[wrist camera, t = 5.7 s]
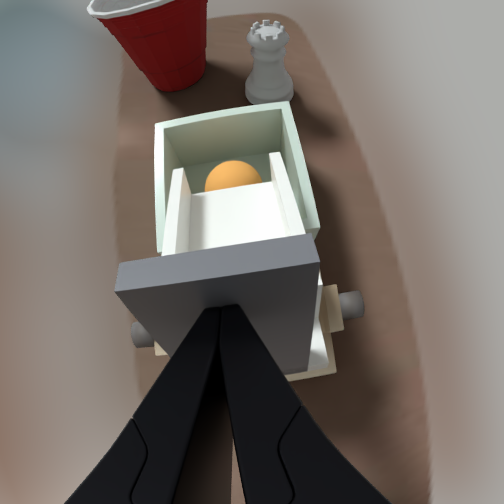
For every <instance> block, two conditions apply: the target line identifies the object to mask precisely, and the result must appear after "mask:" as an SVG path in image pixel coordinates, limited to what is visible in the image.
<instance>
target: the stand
mask: <svg viewBox="0 0 504 504" xmlns="http://www.w3.org/2000/svg"><path fill="white" fill-rule="evenodd" d="M319 273H320V277H321V272H320V269H319ZM321 281H322V278H321ZM322 284H323V283H322ZM363 315H364V302H363V298H362V295H361V293H360V291H359V290H356V291H351V292H346V293H340V294H338V290H337V285H336V284H334V285H328V286H322V294H321V302H320V309H319V317H318V318H319V322H320V326H321V331H322V335H323V339H324V344H325V348H326V352H327V357H328V361H329V364H328V367H327V368H323V369H318V370H312V371H307V372H301V373H295V374H289V375H285V377H286V379H287V380H288V381H294V380H300V379H306V378H311V377H317V376H322V375H327V374H332V373H337V372H336V364H335V357H334V350H333V344H332V337H331V332H336V331H341V330H344V325H343V321H344V320H349V319H353V318H358V317H363ZM131 337H132V341H133V343H134V345H135V346H136V347H137V348H142V347H155V353H156V355H168V354H167V353H166V352H165V351H164V350H163V349H162V348H161V347H160V346H159V344H158V343H157V342H156V341H155V340H154V339H153V338H152V336H151V335H150V334H149V333H148V332H147V331H146V330H145V328H144V327H143V326H142V325H141V324H140V322H134V323H133V324H132V327H131Z"/></svg>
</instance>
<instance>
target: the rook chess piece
mask: <svg viewBox="0 0 504 504" xmlns="http://www.w3.org/2000/svg"><path fill="white" fill-rule="evenodd" d="M246 37H247V42H248V43H249V44H250V45H251V46H253V47H252V49H251V55H252V56H253V57H254V62H253V70H252V71H251V73H250V75H249V76H248V78H247V80H246V82H245V88H246V89H245V95H246V97H247V99H248V100H249V102H250V103H252V104H254V105H259V104H267V103H275V102H285V101H290V100H291V99H292V97H293V94H294V91H293V82H292V79H291V77H290V76H289V75H288V72H287V71H286V70H285V67H284V61H283V57H284V56H285V54H286V49H285V48H284V47H283V46H284V45H286V44H287V43H288V41H289V35H288V34H287V33H286V32H285V28H284V26H281V23H280V22H277V21H275V22H274V25H272V24H269V20H263V25H260V24H259V22H256V23H254V24H253V27H251V31H250V32H249V33H248V35H247V36H246Z"/></svg>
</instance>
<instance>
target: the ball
mask: <svg viewBox="0 0 504 504" xmlns="http://www.w3.org/2000/svg"><path fill="white" fill-rule="evenodd" d="M258 183H262V179H261V177H260V175H259V173H258V172H257V171H256V170H255V169H254V168H253V167H252V166H251V165H249V164H247V163H245V162H242V161H237V160H232V161H226V162H223V163H221V164H219V165H218V166H216V167H215V168H214V169H213V170H212V171H211V172H210V174H209V175H208V177H207V180H206V183H205V192H208V191H214V190H220V189H226V188H232V187H239V186H245V185H251V184H258Z"/></svg>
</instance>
